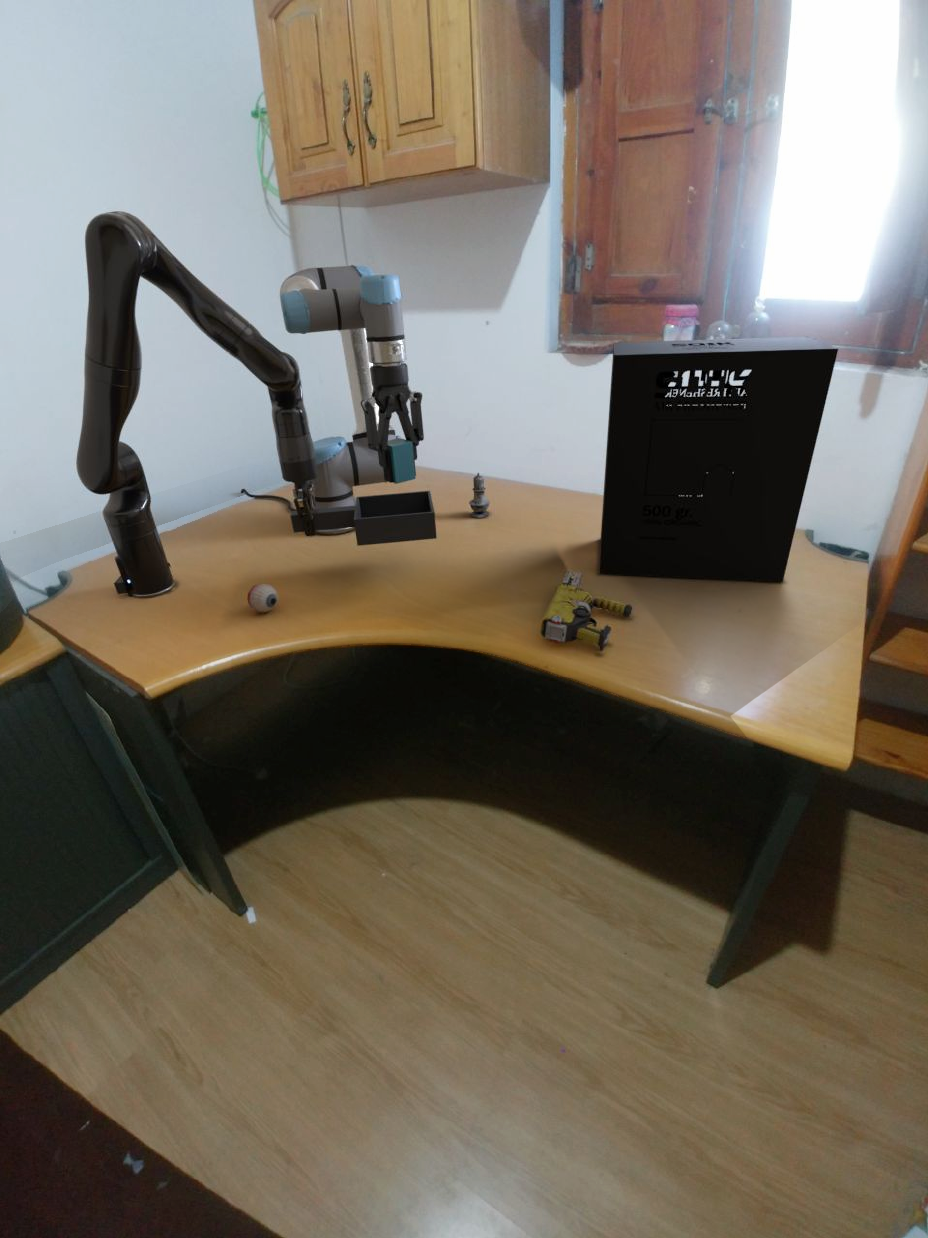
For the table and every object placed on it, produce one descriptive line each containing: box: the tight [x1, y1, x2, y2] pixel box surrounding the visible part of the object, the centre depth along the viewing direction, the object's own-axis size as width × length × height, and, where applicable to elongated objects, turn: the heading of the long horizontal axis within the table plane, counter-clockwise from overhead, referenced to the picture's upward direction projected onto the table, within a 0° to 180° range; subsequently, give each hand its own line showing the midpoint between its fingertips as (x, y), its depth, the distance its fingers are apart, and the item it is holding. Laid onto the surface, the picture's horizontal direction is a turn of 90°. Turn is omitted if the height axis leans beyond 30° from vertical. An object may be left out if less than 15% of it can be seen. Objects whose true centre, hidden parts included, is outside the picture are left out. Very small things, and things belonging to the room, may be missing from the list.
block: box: [387, 437, 416, 485], centre depth 130 cm, size 5×5×8 cm
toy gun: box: [540, 570, 633, 652], centre depth 116 cm, size 5×24×15 cm
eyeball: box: [246, 583, 279, 613], centre depth 126 cm, size 6×6×6 cm
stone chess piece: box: [468, 472, 491, 519], centre depth 168 cm, size 6×6×12 cm
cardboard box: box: [598, 335, 839, 583], centre depth 128 cm, size 38×20×45 cm, turn 78°
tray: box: [290, 490, 437, 547], centre depth 135 cm, size 31×15×6 cm, turn 97°
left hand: (311, 532), depth 135 cm, fingers closed on tray, 3 cm apart
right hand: (400, 477), depth 132 cm, fingers closed on block, 5 cm apart
